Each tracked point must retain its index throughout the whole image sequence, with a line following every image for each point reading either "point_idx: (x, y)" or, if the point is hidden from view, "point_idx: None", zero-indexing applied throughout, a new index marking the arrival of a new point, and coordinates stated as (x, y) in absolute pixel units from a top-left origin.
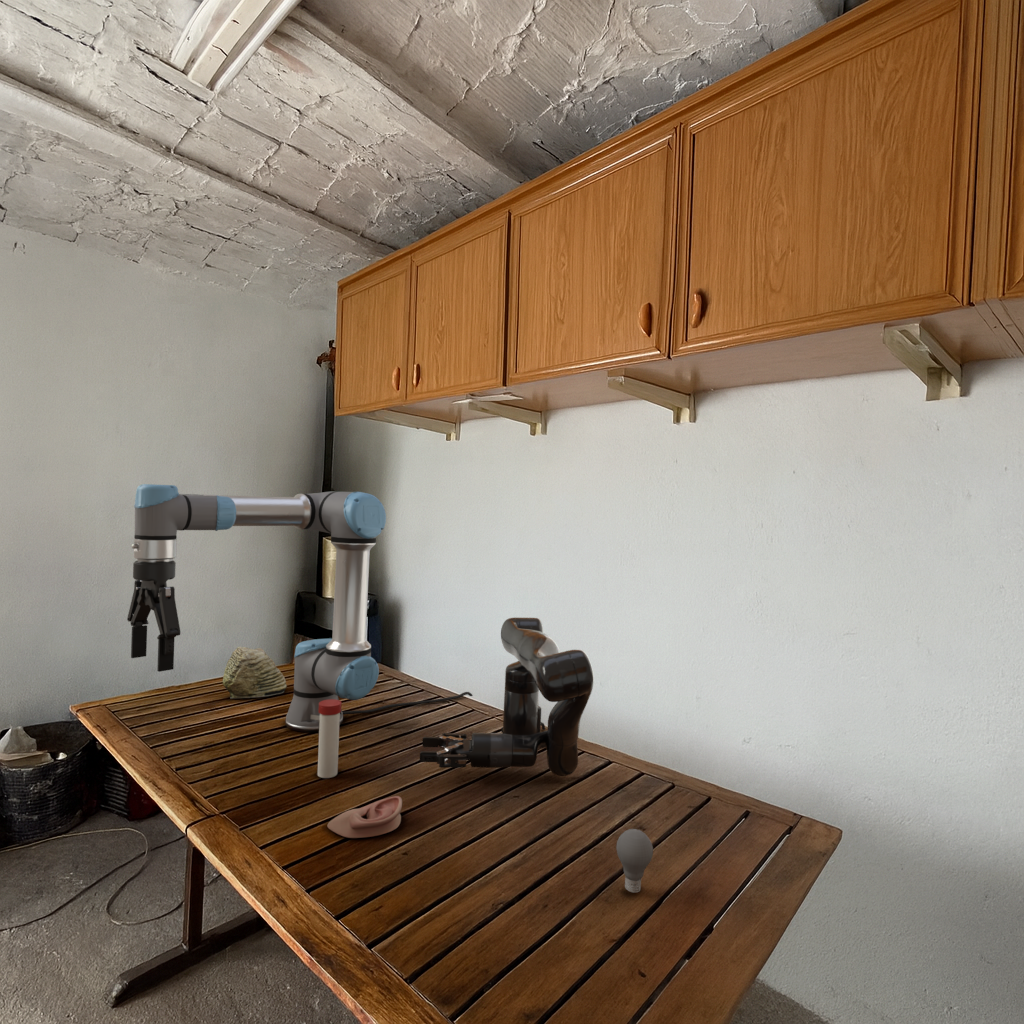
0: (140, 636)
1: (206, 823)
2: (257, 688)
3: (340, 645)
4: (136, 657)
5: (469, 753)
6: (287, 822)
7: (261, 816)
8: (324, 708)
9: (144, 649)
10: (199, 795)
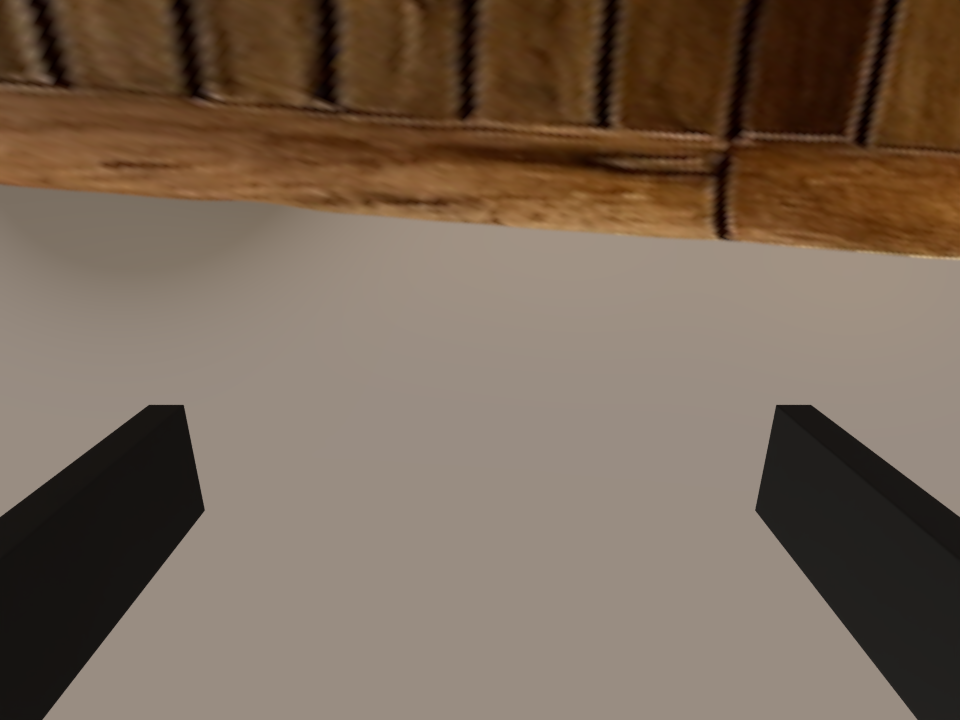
0: (52, 602)
1: (751, 197)
2: None
3: None
4: (196, 481)
5: None
6: (953, 11)
7: (852, 54)
8: None
9: (149, 455)
10: (574, 132)
